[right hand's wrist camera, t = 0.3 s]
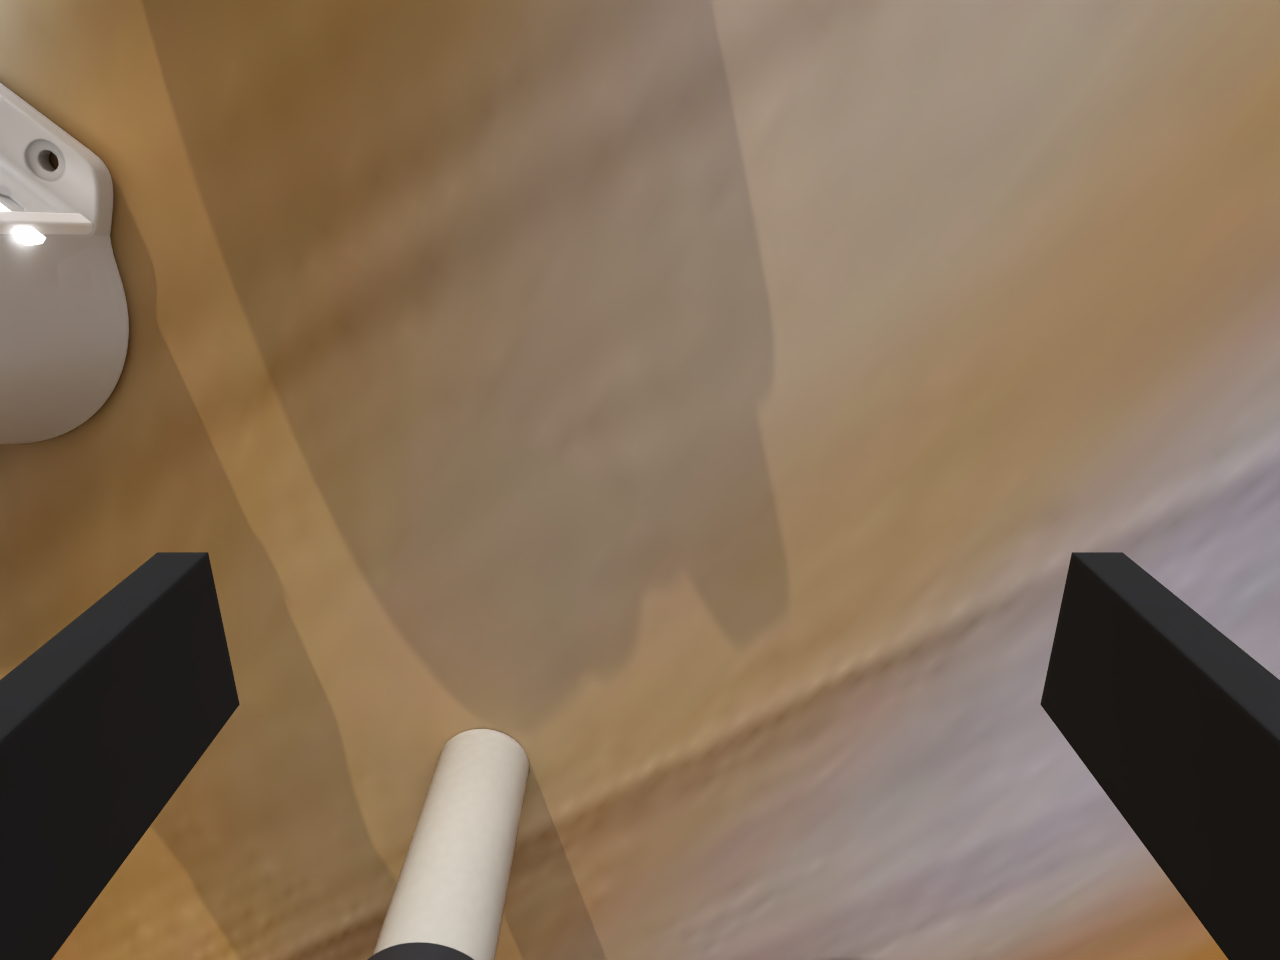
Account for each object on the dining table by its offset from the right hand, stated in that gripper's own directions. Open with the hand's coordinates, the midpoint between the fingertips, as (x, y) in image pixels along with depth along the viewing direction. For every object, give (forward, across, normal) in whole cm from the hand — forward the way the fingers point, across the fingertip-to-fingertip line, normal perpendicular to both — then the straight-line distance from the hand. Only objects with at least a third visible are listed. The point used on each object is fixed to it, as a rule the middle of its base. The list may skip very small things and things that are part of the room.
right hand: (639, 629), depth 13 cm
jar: (+28, +9, +26) cm, 39 cm away
